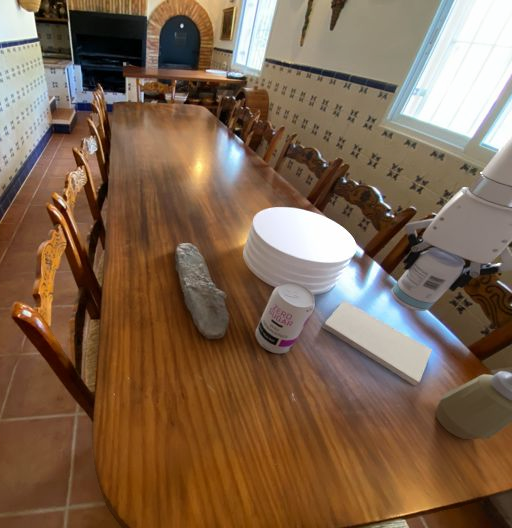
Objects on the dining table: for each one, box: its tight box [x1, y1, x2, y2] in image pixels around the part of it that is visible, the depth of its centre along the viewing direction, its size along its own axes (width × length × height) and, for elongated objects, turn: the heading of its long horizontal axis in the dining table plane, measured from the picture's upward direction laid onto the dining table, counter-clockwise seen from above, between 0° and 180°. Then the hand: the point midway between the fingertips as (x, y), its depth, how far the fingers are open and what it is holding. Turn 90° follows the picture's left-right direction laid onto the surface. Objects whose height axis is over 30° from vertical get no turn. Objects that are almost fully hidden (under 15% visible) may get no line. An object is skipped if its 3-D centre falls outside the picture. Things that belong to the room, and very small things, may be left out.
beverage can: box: [390, 247, 466, 312], centre depth 58 cm, size 7×7×12 cm
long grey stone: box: [174, 242, 230, 340], centre depth 78 cm, size 35×5×10 cm
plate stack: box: [242, 206, 357, 296], centre depth 88 cm, size 28×28×12 cm
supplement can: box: [254, 282, 316, 354], centre depth 63 cm, size 8×8×15 cm
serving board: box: [322, 299, 433, 387], centre depth 70 cm, size 20×12×2 cm, turn 43°
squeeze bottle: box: [435, 370, 512, 440], centre depth 50 cm, size 8×8×18 cm
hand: (429, 276), depth 57 cm, fingers closed on beverage can, 7 cm apart
